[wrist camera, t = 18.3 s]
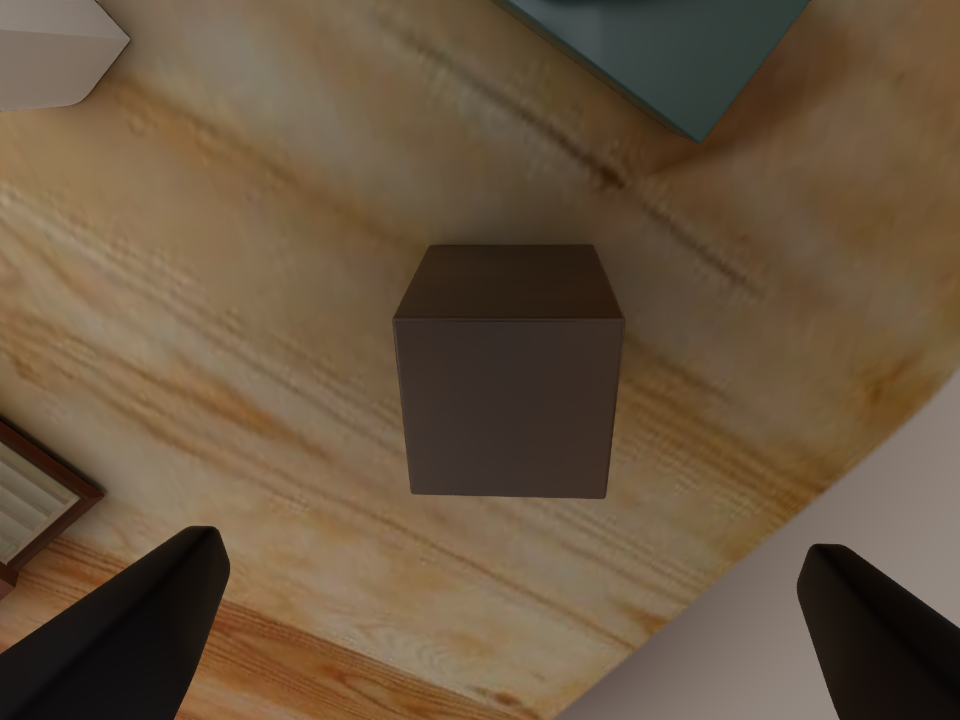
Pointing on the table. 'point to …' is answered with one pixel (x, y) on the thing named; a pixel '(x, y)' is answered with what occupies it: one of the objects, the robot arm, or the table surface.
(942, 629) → the robot arm
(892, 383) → the table surface
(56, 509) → the book
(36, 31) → the bracket
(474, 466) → the block
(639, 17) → the button box
